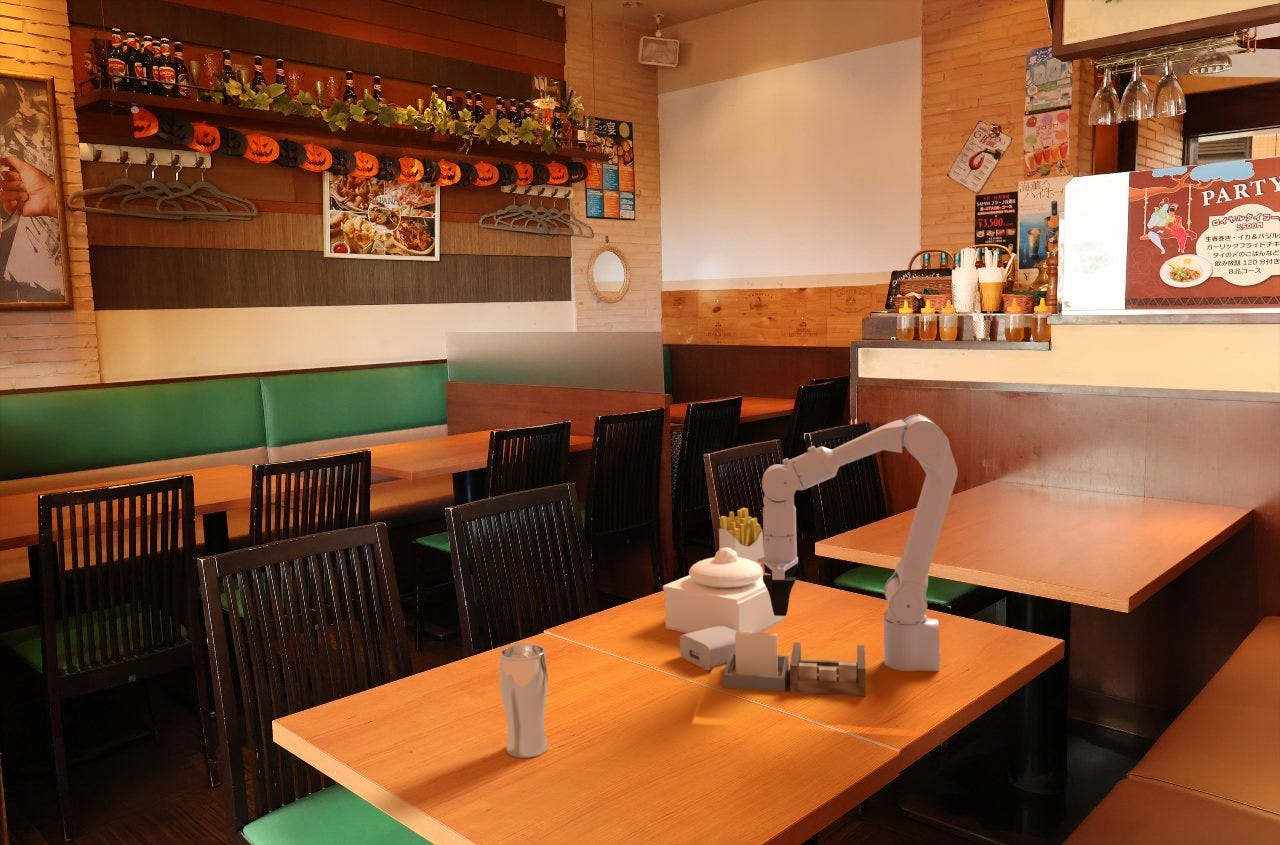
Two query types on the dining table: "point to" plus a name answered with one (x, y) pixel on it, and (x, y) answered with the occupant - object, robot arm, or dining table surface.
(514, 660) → the beer glass
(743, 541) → the french fries container
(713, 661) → the charger
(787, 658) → the tray
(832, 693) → the rack
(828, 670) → the offcuts
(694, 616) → the white lidded square jar
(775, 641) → the sheet
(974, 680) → the dining table surface
